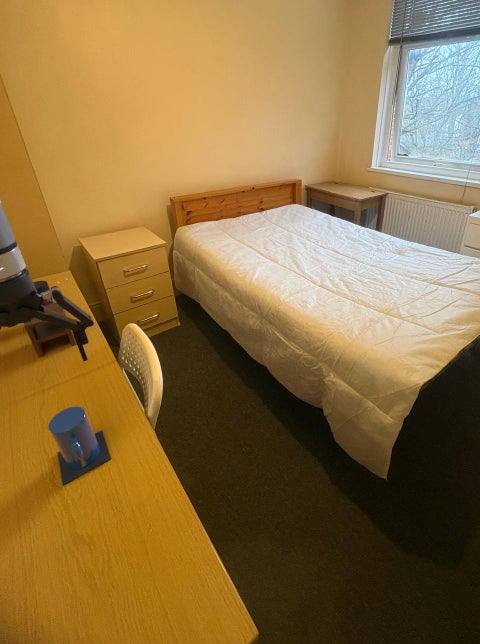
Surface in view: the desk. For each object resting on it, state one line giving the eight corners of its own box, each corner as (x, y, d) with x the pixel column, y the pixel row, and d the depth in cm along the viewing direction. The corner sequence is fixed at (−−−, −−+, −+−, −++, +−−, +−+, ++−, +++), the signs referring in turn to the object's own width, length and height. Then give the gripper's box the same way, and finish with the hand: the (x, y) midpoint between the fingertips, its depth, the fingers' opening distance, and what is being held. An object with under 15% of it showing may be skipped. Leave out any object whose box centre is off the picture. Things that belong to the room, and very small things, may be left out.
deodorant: (57, 323, 115) (43, 287, 108) (38, 326, 113) (22, 290, 106) (63, 314, 120) (49, 279, 113) (45, 317, 118) (30, 281, 111)
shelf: (36, 341, 106) (22, 311, 101) (71, 329, 112) (60, 300, 106) (38, 357, 99) (24, 326, 94) (76, 344, 105) (64, 314, 100)
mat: (57, 453, 72) (57, 452, 72) (102, 430, 78) (102, 429, 77) (63, 485, 66) (62, 484, 66) (111, 459, 71) (110, 458, 71)
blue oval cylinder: (65, 453, 72) (46, 417, 67) (97, 436, 76) (82, 401, 70) (70, 484, 66) (51, 447, 61) (105, 464, 70) (89, 428, 64)
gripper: (-128, 312, 42) (-50, 421, 51) (91, 262, 56) (119, 355, 66) (-114, 289, 47) (-46, 392, 57) (83, 249, 61) (111, 336, 71)
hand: (43, 372), depth 61 cm, fingers open, 13 cm apart
